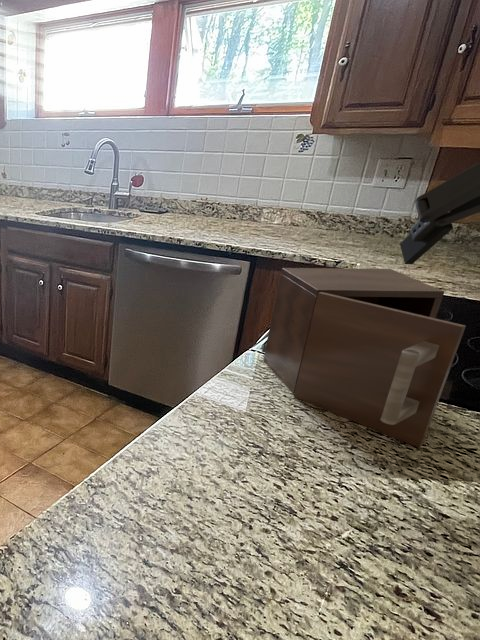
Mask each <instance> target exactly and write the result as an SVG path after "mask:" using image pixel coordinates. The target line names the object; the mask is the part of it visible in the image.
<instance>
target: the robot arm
mask: <svg viewBox="0 0 480 640" xmlns="http://www.w3.org/2000/svg"><path fill="white" fill-rule="evenodd" d="M414 205H415V209H416V213H417V216H418V220H417V221H416V222H415V223H414V224H413V225H412V226H411V228H410V233H409V234H407V236H406V237H405V238H404V239H403V240H402V241H401V242H400V243H399V246H400V250H401V254H402V258H403V262H404V265H413V264H414V263H416V262H417V261H418V260H419V259H420V258H422V256H424V255H425V254H426V253H427V252H428V251H429V250H430V249H431V248H433V247H434V246H435V245H436V244H437V243H438V242H439V241H441V240H442V239H443V238H444V237H445V236H447V234H449V233H450V232H451V231H452V230H453V229H454V226H453V223H455V222H457V221H460V220H464V219H465V218H468V217H471V216H474V215H476V214H479V213H480V161H478V162H477V163H475V164H474V165H472V166H470V167H469V168H466V169H464V170H463V171H461V172H459V173H458V174H456V175H454V176H452V177H450V178H449V179H447V180H445V181H443V182H442V183H440V184H438V185H437V186H435V187H433V188H431V189H430V190H428V191H426V192H424V193H423V194H421V195H419V196H418V197H417V196H416V198H415V199H414Z"/></svg>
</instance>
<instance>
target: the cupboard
mask: <svg viewBox="0 0 480 640" xmlns="http://www.w3.org/2000/svg"><path fill="white" fill-rule="evenodd" d="M320 292H324V293H329V294H333V295H337V296H341V297H346V298H350V299H354V300H359V301H363V302H367V303H371V304H376V305H380V306H384V307H388V308H393V309H397V310H401V311H406V312H410V313H414V314H418V315H423V316H427V317H431V318H436V319H437V315H438V312H439V310H440V306H441V303H442V300H443V298H444V294H445V291H444V290H442V289H439V288H437V287H435V286H433V285H430V284H428V283H425V282H422V281H420V280H419V279H416V278H414V277H411V276H409V275H406V274H404V273H401V272H398V270H397V271H396V270H394V269H392V268H351V267H349V268H348V267H347V268H346V267H345V268H344V267H343V268H342V267H341V268H338V267H337V268H336V267H335V268H333V267H330V268H329V267H282V268H281V271H280V276H279V281H278V286H277V290H276V295H275V299H274V300H275V301H274V304H273V310H272V315H271V320H270V325H269V329H268V335H267V339H266V344H265V349H264V354H263V360H262V362H264V363H265V364H266V366H267V367H268V368H269V369H270V370H271V371H272V372H273V373H274V374H275V376H276V377H277V378H278V379H279V380H280V381H281V382H282V383H283V384H284V386H285V387H286V388H287V389H288V390H289V391H290V393H291V394H292V395H294V393H295V389H296V384H297V380H298V376H299V372H300V368H301V363H302V359H303V355H304V351H305V347H306V342H307V338H308V334H309V330H310V326H311V321H312V317H313V313H314V309H315V304H316V300H317V296H318V293H320Z"/></svg>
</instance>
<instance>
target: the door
mask: <svg viewBox="0 0 480 640" xmlns="http://www.w3.org/2000/svg"><path fill="white" fill-rule="evenodd" d="M466 327H467V326H466V324H460V323H456V322H452V321H448V320H444V319H439V318H437V317H436V318H431V317H427V316H423V315H418V314H414V313H410V312H406V311H401V310H397V309H393V308H388V307H384V306H380V305H376V304H371V303H367V302H363V301H359V300H354V299H350V298H346V297H341V296H337V295H333V294H329V293H324V292H320V293H318V296H317V300H316V304H315V309H314V313H313V317H312V321H311V326H310V330H309V334H308V338H307V342H306V347H305V351H304V355H303V359H302V363H301V368H300V372H299V376H298V380H297V384H296V389H295V393H294V394H293V398H296V399H298V400H301V401H303V402H306V403H308V404H311V405H313V406H315V407H318V408H321V409H323V410H325V411H327V412H330V413H332V414H335V415H337V416H340V417H343V418H345V419H347V420H349V421H352V422H355V423H357V424H360V425H361V426H364V427H367V428H370V429H371V430H373V431H377V432H379V433H382V434H384V435H386V436H389V437H391V438H394V439H396V440H399V441H401V442H403V443H405V444H408V445H410V446H414V447H416V448H421V447H422V446H423V445H424V442H425V439H426V437H427V434H428V431H429V428H430V426H431V423H432V420H433V417H434V415H435V412H436V409H437V406H438V405H439V401H440V398H441V396H442V393H443V390H444V388H445V384H446V382H447V380H448V376H449V374H450V372H451V368H452V366H453V363H454V360H455V357H456V355H457V352H458V349H459V346H460V343H461V340H462V339H463V336H464V333H465V332H464V331H465V329H466Z"/></svg>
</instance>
